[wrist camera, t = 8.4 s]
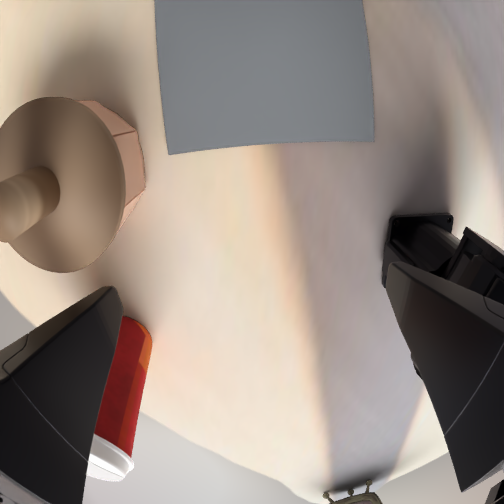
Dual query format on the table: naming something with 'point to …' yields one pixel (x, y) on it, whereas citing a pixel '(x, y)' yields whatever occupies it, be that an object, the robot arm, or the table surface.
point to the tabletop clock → (357, 497)
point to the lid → (59, 184)
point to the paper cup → (120, 404)
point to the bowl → (124, 154)
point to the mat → (263, 72)
